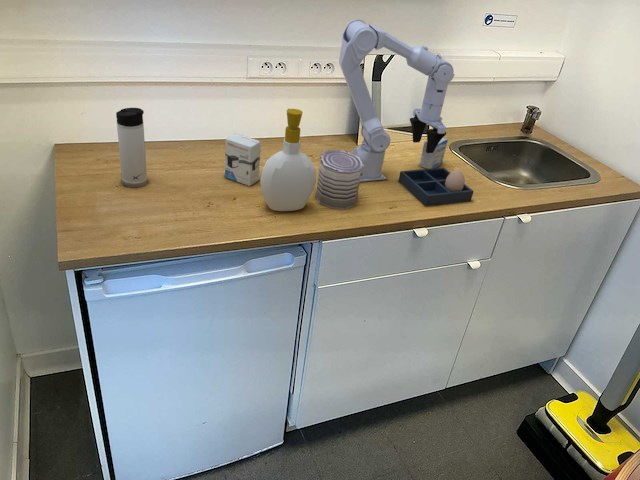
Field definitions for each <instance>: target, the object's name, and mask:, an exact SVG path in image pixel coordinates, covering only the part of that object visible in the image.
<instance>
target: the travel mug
mask: <svg viewBox="0 0 640 480" xmlns="http://www.w3.org/2000/svg"><path fill="white" fill-rule="evenodd" d="M144 113H145V112H144V110H143V109H142V108H139V107H126V108H122V109H120V110H118V111H116V113H115V114H116V116H115V117H116V129H117V130H116V131H117V139H118V151H119V161H120V173H121V182H122V184H123V185H124V186H125V187H128V188H141V187H143V186H145V185H147V183H148V174H147V173H148V172H147V171H148V170H147V156H146V144H145V143H146V142H145V140H146V139H145V127H144V116H143V115H144Z"/></svg>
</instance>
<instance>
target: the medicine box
mask: <svg viewBox="0 0 640 480" xmlns="http://www.w3.org/2000/svg"><path fill="white" fill-rule="evenodd" d="M448 141H449V140H448V138H445V137H443V138H442V139H441V140H440V142H439V143H438V145H437V146H436V148H435V150H434V152H433V153H426V147H427V140H425V141H424V143H423V147H422V152H421V156H420V161H419V167H421V168H422V169H433V168H438V167H440V165H442V164H443V162H444V159H445V158H444V157H445V153H446V150H447V145H448Z"/></svg>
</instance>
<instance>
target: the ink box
mask: <svg viewBox="0 0 640 480" xmlns="http://www.w3.org/2000/svg"><path fill="white" fill-rule="evenodd" d="M224 148H225V152H224V153H225V154H224V157H225V158H224V178H225V179H229V180H231V181H234V182H237V183H238V184H239V183H240V184H242V185H245V186H248V187H250V186H252V185H254V184H255V183H257V182H258V181H260V168H261V167H260V163H261V148H262V142H261V140H258V139H256V138H255V139H254V138H251V137H248V136H245V135H244V134H243V135H242V134H240V133H234V134H232V135H230V136H228V137H226V138H225V146H224Z"/></svg>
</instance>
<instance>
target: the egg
mask: <svg viewBox="0 0 640 480" xmlns="http://www.w3.org/2000/svg"><path fill="white" fill-rule="evenodd" d="M464 184H465V175H464V174H463V172H462V171H461V170H458V169H455V170H452V171H450V174H449V175H448V176H447V178H446V181H445V188H447V189H448V190H449V191H450V192H457V191H461V190H462V189H463V187H464Z"/></svg>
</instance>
